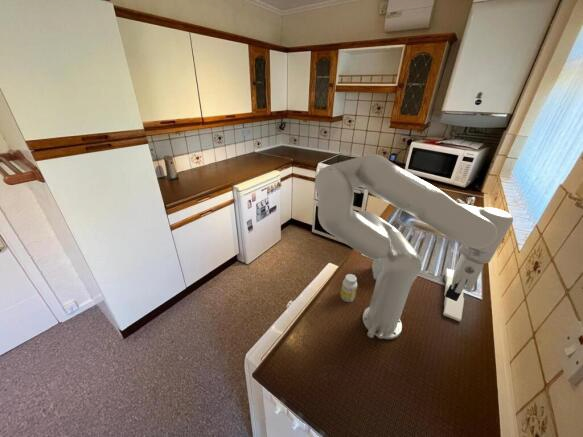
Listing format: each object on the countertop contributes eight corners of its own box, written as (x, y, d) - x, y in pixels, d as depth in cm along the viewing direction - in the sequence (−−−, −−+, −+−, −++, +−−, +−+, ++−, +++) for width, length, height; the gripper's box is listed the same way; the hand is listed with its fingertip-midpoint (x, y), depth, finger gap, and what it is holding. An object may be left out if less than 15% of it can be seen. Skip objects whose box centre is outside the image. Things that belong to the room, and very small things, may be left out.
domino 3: (461, 309, 84) (463, 288, 89) (445, 303, 87) (448, 283, 92) (459, 311, 85) (462, 290, 90) (443, 305, 88) (447, 285, 93)
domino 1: (461, 288, 93) (460, 271, 99) (447, 284, 95) (446, 268, 101) (460, 291, 94) (459, 274, 100) (445, 287, 96) (445, 270, 102)
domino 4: (461, 319, 80) (464, 297, 85) (444, 312, 83) (448, 291, 88) (459, 321, 82) (462, 299, 86) (443, 314, 84) (447, 293, 89)
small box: (387, 281, 98) (393, 261, 93) (373, 279, 99) (378, 259, 94) (384, 268, 105) (389, 249, 100) (371, 267, 106) (376, 247, 101)
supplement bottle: (344, 303, 88) (348, 284, 83) (337, 293, 92) (340, 274, 87) (357, 300, 89) (361, 281, 84) (350, 290, 94) (353, 271, 89)
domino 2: (460, 299, 88) (462, 279, 94) (445, 293, 91) (447, 275, 96) (459, 301, 89) (460, 282, 95) (444, 295, 92) (446, 277, 97)
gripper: (493, 269, 59) (462, 319, 68) (492, 244, 70) (466, 289, 79) (458, 257, 63) (434, 305, 72) (462, 235, 74) (441, 279, 83)
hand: (451, 297), depth 75 cm, fingers closed
